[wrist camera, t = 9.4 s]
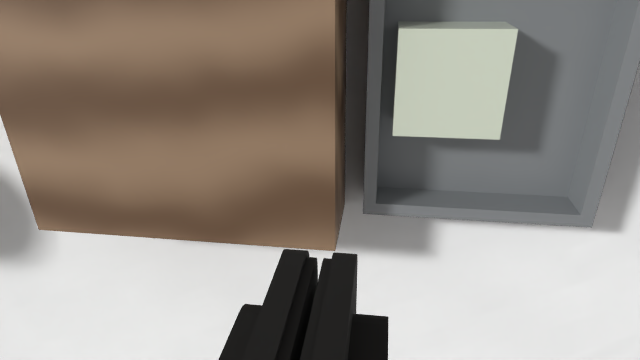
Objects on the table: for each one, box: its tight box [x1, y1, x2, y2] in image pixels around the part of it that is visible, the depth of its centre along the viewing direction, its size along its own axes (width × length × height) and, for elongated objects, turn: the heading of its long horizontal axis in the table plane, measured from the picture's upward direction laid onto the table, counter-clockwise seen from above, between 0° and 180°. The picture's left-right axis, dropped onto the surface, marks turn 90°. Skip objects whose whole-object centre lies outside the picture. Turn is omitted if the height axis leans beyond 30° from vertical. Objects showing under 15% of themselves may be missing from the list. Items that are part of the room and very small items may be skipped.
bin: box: [363, 0, 640, 227], centre depth 27 cm, size 16×14×3 cm
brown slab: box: [0, 0, 347, 251], centre depth 28 cm, size 18×20×6 cm
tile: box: [393, 21, 518, 140], centre depth 26 cm, size 6×6×3 cm
